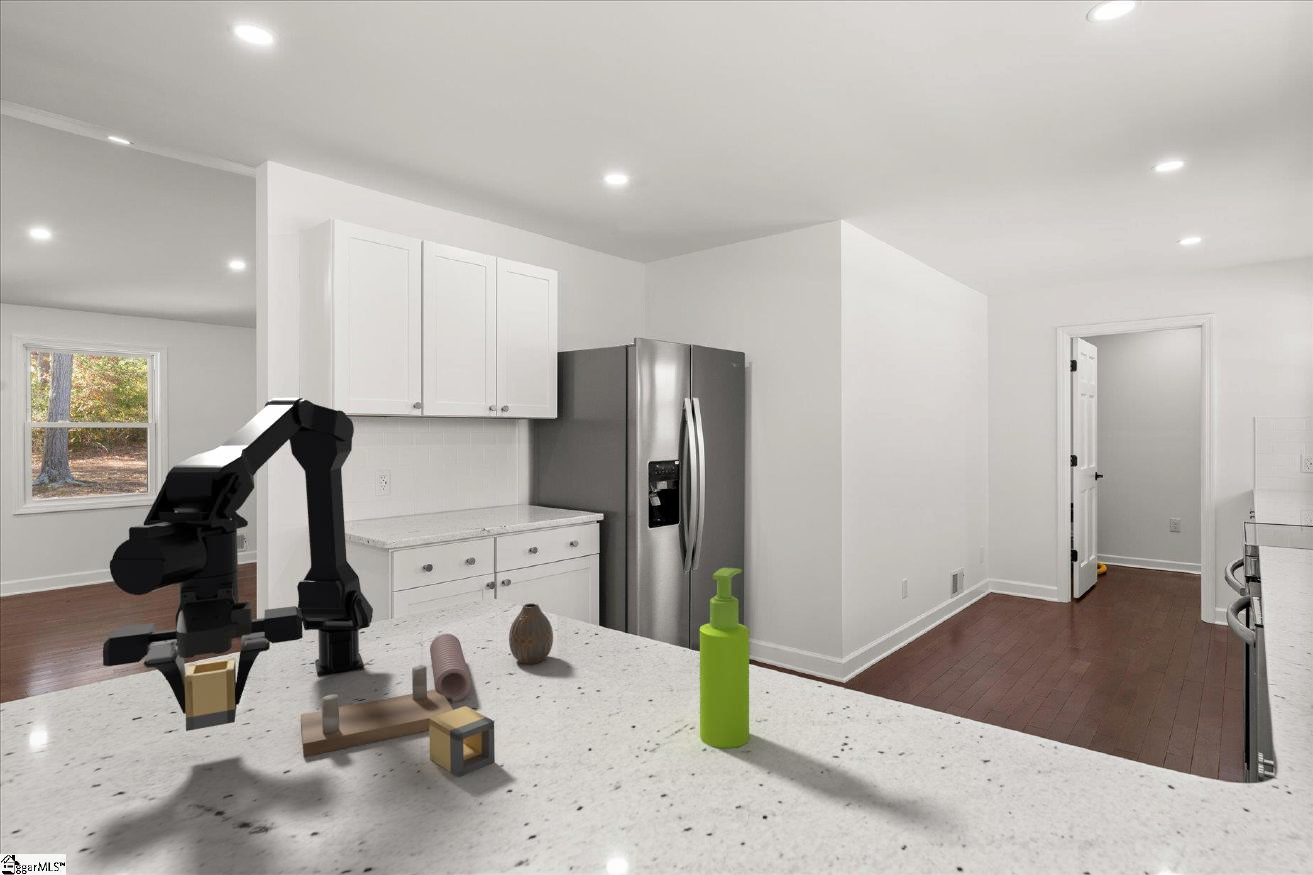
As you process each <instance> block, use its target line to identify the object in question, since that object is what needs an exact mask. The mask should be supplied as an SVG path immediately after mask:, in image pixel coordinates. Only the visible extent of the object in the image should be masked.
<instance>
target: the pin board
mask: <svg viewBox="0 0 1313 875" xmlns="http://www.w3.org/2000/svg"><path fill="white" fill-rule="evenodd" d="M427 669H428V668H427V666H426V665H416V666H414V667H412V668H411V671H412V672H411V680H412V681H411V682H412V685H411V686H412V693H409V694H404V695H398V696H393V697H387V698H384V699H377V700H372V701H367V702H362V703H361V702H360V703H357V704H349V705H345V706H340V699H339V695H338V694H328V695H326V696H323V697H322V698H321V710H317V711H313V712H308V713H307V712H306V713H303V714H302V713H301V714H300V732H301V743H302V756H303V758H304V757H309V756H313V755H318V754H323V753H328V752H332V751H333V752H334V751H338V750H341V749H343V750H344V749H346V748H347V749H348V748H351V747H356V746H360V745H361V746H362V745H365V744H371V743H374V742H379V741H385V740H389V739H393V738H399V737H403V736H408V735H413V734H416V733H423V732H426V731H429V718H432V717H435V716H438V715H440V714H443V713H446V712H449V711H452V710H454V709H453V707H452V706H451V704H450V702H449V700H447V699H446V698H445V696H444V694H443V693H442V691H436V690H435V689H430V690H428V681H427V680H428V679H427V678H428V677H427V676H428V674H427V673H428V672H427V671H428V670H427Z"/></svg>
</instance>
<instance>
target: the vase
mask: <svg viewBox="0 0 1313 875" xmlns="http://www.w3.org/2000/svg"><path fill="white" fill-rule="evenodd" d="M551 624H552V623H551V622H550V620H549V619H548V617H547V616H546V614H544V612H543V611H542V609H541V608H540V606H539V604H538V603H526V604H523V606H522V608H521V611H520V612H519V613H518V615H517V616H516V617H515V619H514V620H513V622H512V624H511V627H510V628H509V634H508V644H509V649H510V652H511V655H512V656H513V657H514V659H515V660H516V661H518V662H519V663H520V664H523V665H533V664H539V663H542V662H543V661H545V660H546V658H547V657H548V656H549V655H550V653H551V652H552V651H551V650H552V648H553V644H554V633H553V632H554V631H553V626H552V625H551Z"/></svg>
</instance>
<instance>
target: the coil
mask: <svg viewBox="0 0 1313 875" xmlns="http://www.w3.org/2000/svg"><path fill="white" fill-rule="evenodd" d="M461 644H462V643H461V641H460V640H459V638H458V637H457V636H456V635H454V634H452V633H442V634H439V635H438V636H436V637H435V638H434V639H433V640H432V642H431V643H430V646H429V647H430V648H429V652H430V659H431V660H430V661H431V667H432V674H433V683H434V690H436V691H442V693H443V694H444V696H445V698H446V699H447V701H451V703H452V704H453V703H458V702H460V701H461V700H463V699H464V698H465V697H466V696H467V695H468V693H469V691H470V689H471V685H472V684H471V677H470V674H469V670H468V666H467V663H466V659H465V655H464V651H463V648H462V645H461Z"/></svg>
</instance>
